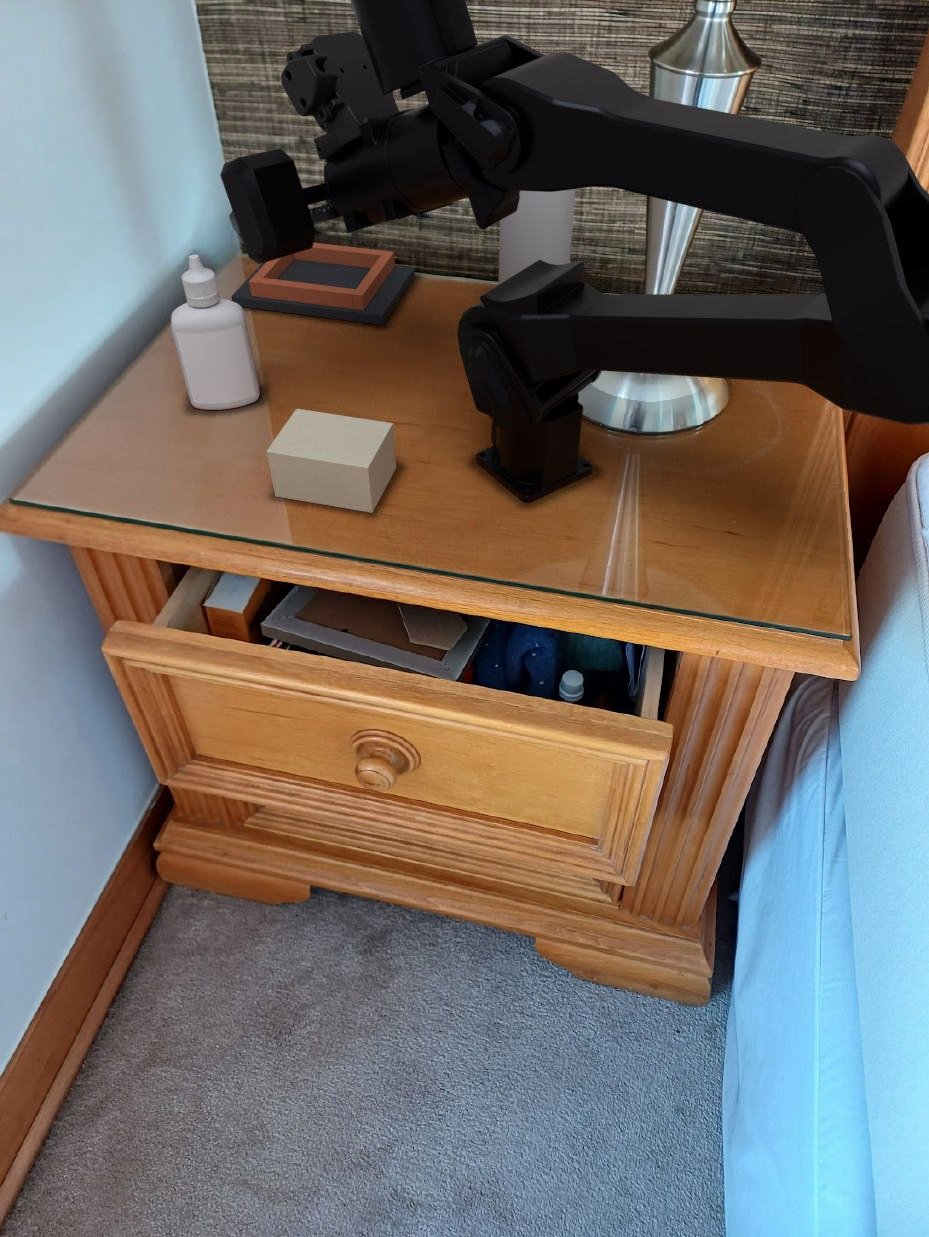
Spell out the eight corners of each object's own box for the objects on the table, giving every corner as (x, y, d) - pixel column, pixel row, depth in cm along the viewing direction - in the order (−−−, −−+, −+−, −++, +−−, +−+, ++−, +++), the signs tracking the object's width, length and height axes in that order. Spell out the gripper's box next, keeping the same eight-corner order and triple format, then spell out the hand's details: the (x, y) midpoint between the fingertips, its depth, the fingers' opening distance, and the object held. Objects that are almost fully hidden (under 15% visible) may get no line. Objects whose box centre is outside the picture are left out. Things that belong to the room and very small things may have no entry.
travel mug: (547, 341, 81) (564, 92, 66) (485, 322, 83) (487, 78, 69) (580, 312, 84) (603, 70, 70) (519, 294, 87) (529, 57, 72)
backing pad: (415, 276, 89) (414, 252, 88) (383, 325, 83) (381, 300, 81) (275, 260, 92) (271, 235, 90) (232, 306, 85) (227, 280, 84)
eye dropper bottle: (244, 419, 72) (214, 275, 64) (182, 407, 74) (144, 265, 65) (268, 390, 75) (242, 248, 67) (208, 380, 77) (174, 239, 68)
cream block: (396, 467, 68) (393, 422, 65) (372, 513, 64) (367, 467, 61) (303, 453, 69) (296, 408, 66) (275, 496, 66) (265, 451, 63)
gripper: (480, 6, 60) (337, 76, 71) (261, 32, 49) (131, 110, 60) (520, 185, 65) (379, 225, 76) (327, 245, 54) (195, 282, 65)
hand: (281, 209), depth 69 cm, fingers open, 9 cm apart
